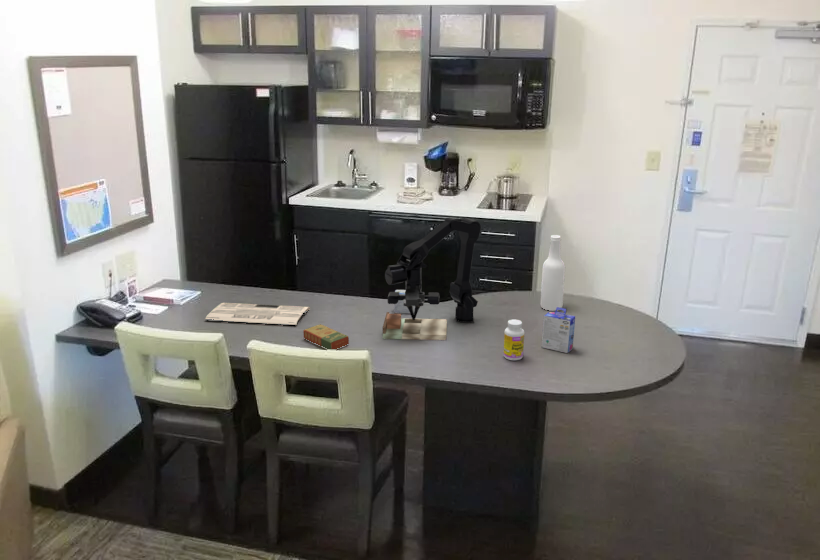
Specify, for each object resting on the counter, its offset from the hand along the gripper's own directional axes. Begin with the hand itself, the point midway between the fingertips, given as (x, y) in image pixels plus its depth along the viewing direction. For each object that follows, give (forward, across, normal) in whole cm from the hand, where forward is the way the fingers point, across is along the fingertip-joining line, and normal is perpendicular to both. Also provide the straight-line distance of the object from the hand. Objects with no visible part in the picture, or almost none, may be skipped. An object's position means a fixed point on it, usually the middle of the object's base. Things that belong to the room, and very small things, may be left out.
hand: (413, 319), depth 248 cm
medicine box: (+5, -5, +20) cm, 21 cm away
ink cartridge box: (+5, +51, -12) cm, 53 cm away
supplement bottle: (+5, +35, -20) cm, 41 cm away
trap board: (+5, +1, 0) cm, 5 cm away
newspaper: (+5, -62, +12) cm, 64 cm away
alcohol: (+5, +54, +27) cm, 60 cm away
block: (+3, -7, 0) cm, 8 cm away
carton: (+5, -31, -12) cm, 33 cm away
